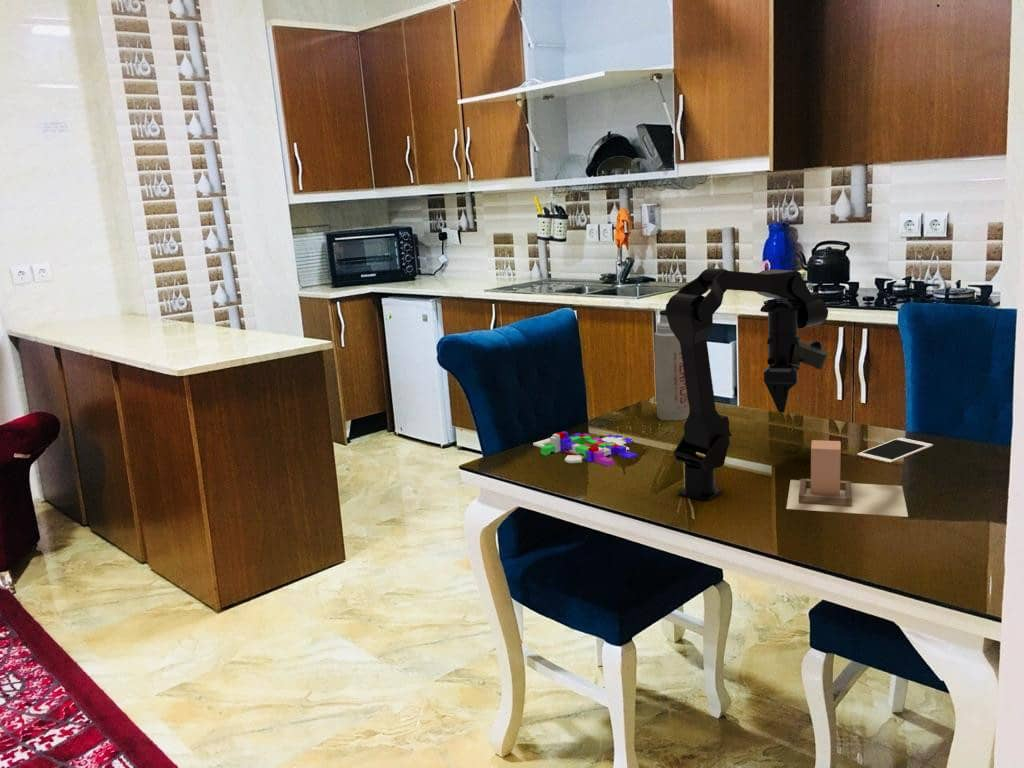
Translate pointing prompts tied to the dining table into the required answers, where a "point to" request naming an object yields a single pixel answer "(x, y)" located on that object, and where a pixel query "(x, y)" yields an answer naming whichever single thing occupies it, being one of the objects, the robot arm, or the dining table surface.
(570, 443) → the building block set
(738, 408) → the dining table surface
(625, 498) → the dining table surface
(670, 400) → the thermos bottle
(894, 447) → the cell phone
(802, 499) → the board
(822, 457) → the pillar
